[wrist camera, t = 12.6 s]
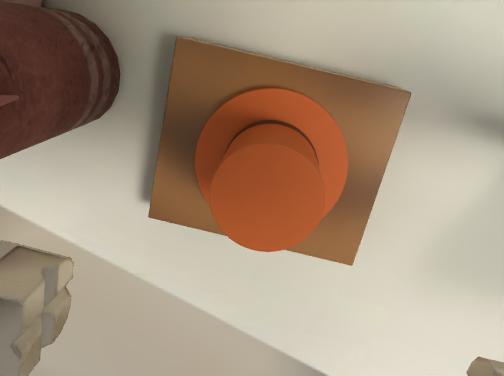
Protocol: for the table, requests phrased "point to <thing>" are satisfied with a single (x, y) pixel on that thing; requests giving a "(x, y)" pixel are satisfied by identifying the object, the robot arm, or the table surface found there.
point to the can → (51, 74)
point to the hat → (270, 167)
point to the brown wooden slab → (283, 76)
